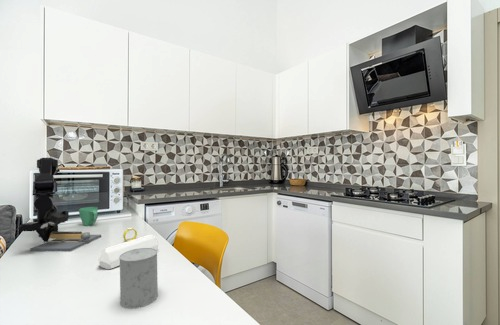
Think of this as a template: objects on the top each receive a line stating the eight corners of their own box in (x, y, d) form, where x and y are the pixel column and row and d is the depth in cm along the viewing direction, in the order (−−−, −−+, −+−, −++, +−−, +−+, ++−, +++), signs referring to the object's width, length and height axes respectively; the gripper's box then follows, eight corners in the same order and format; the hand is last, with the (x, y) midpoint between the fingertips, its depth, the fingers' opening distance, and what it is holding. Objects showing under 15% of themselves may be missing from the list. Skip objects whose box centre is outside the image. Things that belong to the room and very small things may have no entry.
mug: (76, 225, 150) (75, 208, 150) (93, 222, 158) (93, 206, 158) (87, 228, 142) (86, 211, 142) (105, 225, 150) (104, 208, 150)
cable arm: (46, 239, 115) (46, 232, 115) (53, 236, 119) (53, 230, 119) (86, 239, 114) (86, 232, 114) (91, 236, 118) (91, 230, 118)
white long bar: (108, 262, 84) (164, 242, 105) (97, 248, 88) (154, 231, 108) (102, 279, 86) (158, 255, 107) (92, 265, 89) (149, 245, 110)
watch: (125, 243, 117) (124, 230, 117) (123, 241, 119) (121, 229, 119) (138, 239, 122) (137, 227, 121) (135, 237, 123) (134, 226, 123)
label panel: (30, 251, 107) (30, 245, 107) (66, 236, 127) (66, 232, 127) (72, 251, 106) (72, 245, 106) (102, 237, 126) (102, 232, 126)
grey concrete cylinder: (162, 289, 74) (162, 247, 74) (150, 308, 64) (150, 260, 64) (129, 290, 73) (129, 248, 73) (113, 309, 64) (112, 261, 64)
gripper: (43, 211, 101) (44, 249, 101) (78, 203, 120) (78, 235, 120) (17, 211, 102) (18, 249, 102) (56, 203, 120) (57, 235, 120)
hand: (45, 241), depth 111 cm, fingers closed
